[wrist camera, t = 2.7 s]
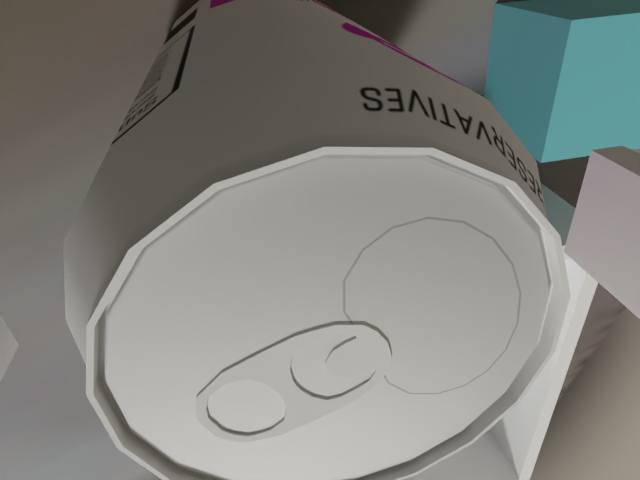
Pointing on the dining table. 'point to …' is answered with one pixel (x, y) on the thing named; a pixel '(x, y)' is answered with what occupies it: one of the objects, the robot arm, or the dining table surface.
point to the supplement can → (308, 256)
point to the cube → (567, 74)
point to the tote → (539, 402)
